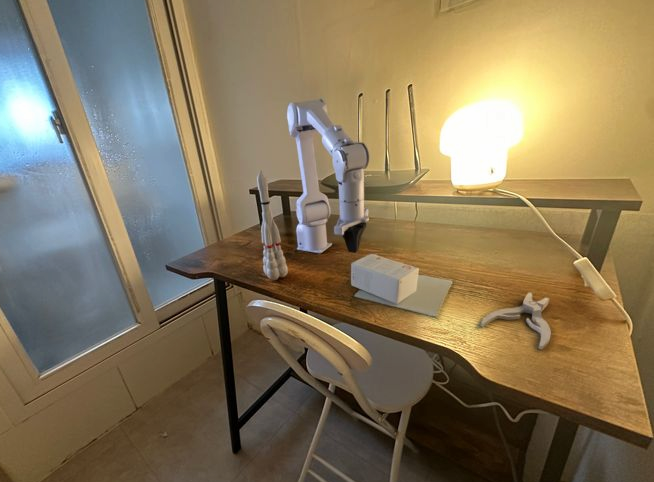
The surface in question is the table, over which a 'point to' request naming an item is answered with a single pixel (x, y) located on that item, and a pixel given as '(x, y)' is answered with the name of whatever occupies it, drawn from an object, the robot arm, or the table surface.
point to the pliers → (537, 318)
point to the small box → (384, 277)
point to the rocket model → (270, 236)
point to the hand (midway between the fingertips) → (353, 251)
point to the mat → (418, 296)
